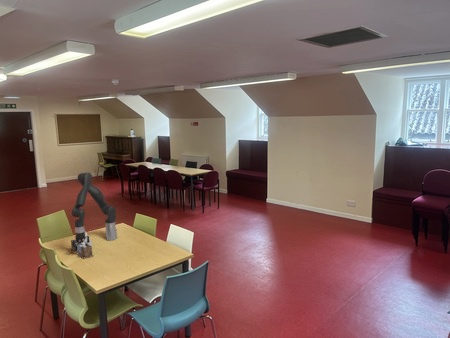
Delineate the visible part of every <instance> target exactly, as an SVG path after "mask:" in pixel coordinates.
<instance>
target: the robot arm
mask: <svg viewBox="0 0 450 338" xmlns="http://www.w3.org/2000/svg"><path fill="white" fill-rule="evenodd" d="M77 180H78V183H80V184H81V185H82V187H81V190H80V191H79V192H78V194H77V197H76V201H75V204H74V206H73V208H72V210H71V216H72V217H74V218H78V219H75V221H74V232H75V234H74V235H75V239H74V238H73V239H71V240H72V246H73V247H75V250H76V251H77V245H78V244H79V243H83V242H85V246H87V245H88V243H89V242H90V240H91V239H90V240H89V238H90V236H89V235H88V236H86V237H85V231H86V230H85V222H84V221H85V216H86V211H85V209H83V207H85V204H86V200H87V195H88V194H89V195H90V196H91V197H92V199H93V201H95V203H96V204H97V205H98V207H99V208H100V210H101V211H102V213H103V215H105V216H107V218H105V220H104V221H105V223H104V224H105V236H106V241H109V242H110V241H111V242H112V241H116V239H118V232H117V230H118V229H117V227H116V219H117V217H116V216H117V211H116V210H117V209H116V206H112V205H109V204H108V203H107V202H106V200H105V196H104V193H103V192H102V190H101V189H100V188H98V187H97V186H95V185H94V184H92V181H93V175H92V173H91V172H83V173H78V175H77ZM81 207H82V208H81ZM86 238H87V242H86V241H85V239H86ZM75 241H76V243H75Z"/></svg>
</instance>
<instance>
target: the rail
mask: <svg viewBox="0 0 450 338" xmlns="http://www.w3.org/2000/svg"><path fill="white" fill-rule="evenodd" d="M81 246H83V247H87V246H85V245H83V244H82V243H79V244H78V245H77V251H78V252H79V253H81Z"/></svg>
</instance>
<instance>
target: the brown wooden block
mask: <svg viewBox="0 0 450 338" xmlns="http://www.w3.org/2000/svg"><path fill="white" fill-rule="evenodd" d="M75 243H76V241H75ZM70 244H71V249H70V251H71V252H73V253H74V254H75V255H77V256H78V257H80V258H82V259H83V260H86V259H87V260H88V259H89V258H93V257H94V254H93V245H92V246H90V245H89V244H88V245H87V247H83V246H81V253H79V252H78V251H76V250H75V247H73V246H72V239H71V240H70Z"/></svg>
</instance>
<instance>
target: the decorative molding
mask: <svg viewBox="0 0 450 338" xmlns="http://www.w3.org/2000/svg"><path fill="white" fill-rule="evenodd" d="M86 236H89V235H88V233H87V231H86V230H85V237H86ZM89 240H90V242H89V243H88V244H89V245H90V246H92V247H93V242H92V240H91V238H90V237H89ZM85 241H86V242H87V238H86V239H85ZM82 244H83V245H85V242H83V243H82Z"/></svg>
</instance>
